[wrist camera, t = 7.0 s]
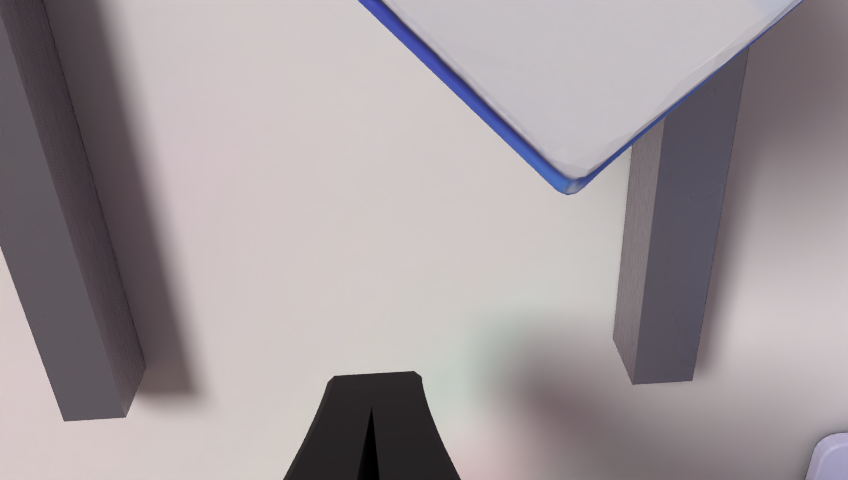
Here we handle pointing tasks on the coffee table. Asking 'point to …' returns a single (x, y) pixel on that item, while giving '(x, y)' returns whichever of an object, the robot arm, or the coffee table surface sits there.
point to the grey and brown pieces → (102, 288)
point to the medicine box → (575, 66)
